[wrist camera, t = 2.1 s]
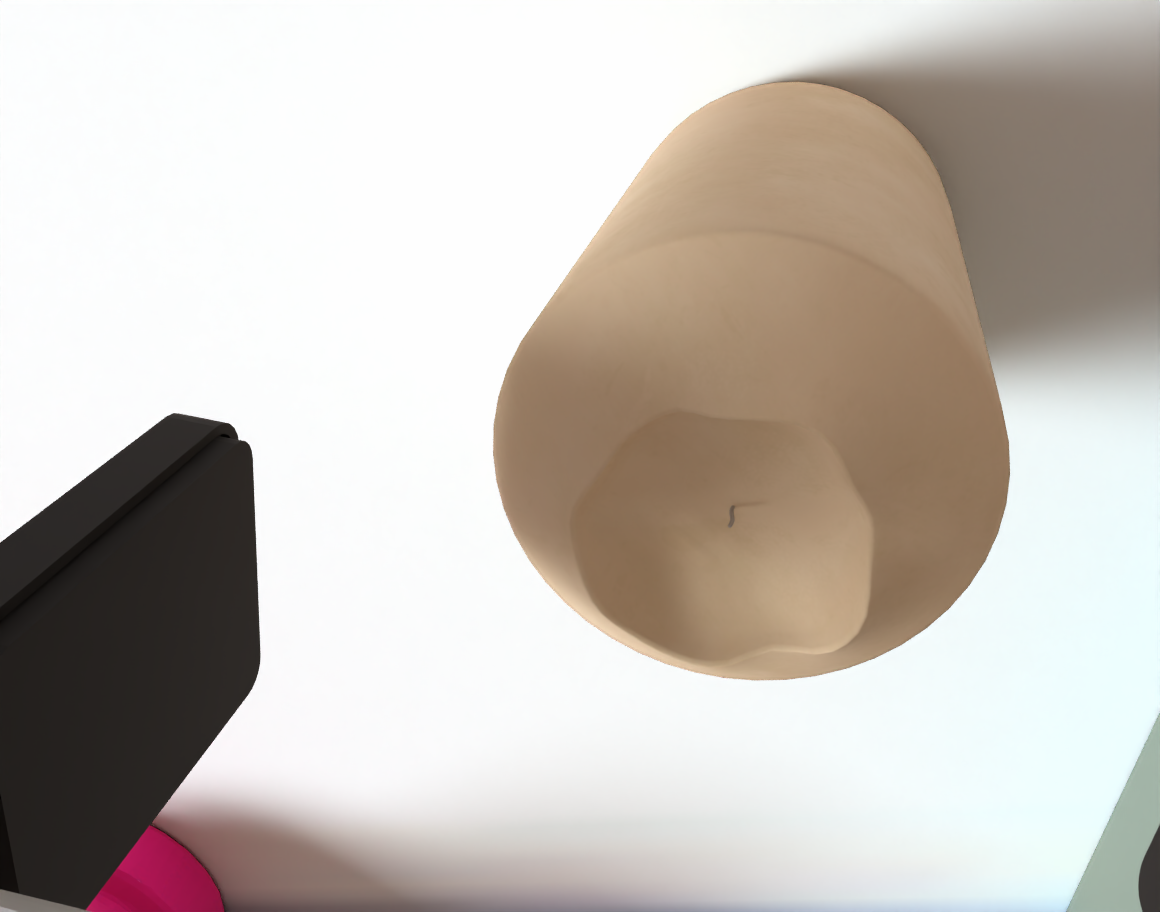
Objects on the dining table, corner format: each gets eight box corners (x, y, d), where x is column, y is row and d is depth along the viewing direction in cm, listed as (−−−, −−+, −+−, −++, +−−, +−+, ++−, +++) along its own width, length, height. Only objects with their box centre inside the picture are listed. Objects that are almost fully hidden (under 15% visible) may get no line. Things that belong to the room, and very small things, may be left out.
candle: (771, 2, 18) (685, 143, 9) (1024, 225, 18) (1168, 553, 10) (568, 256, 20) (354, 551, 12) (796, 441, 21) (750, 847, 12)
